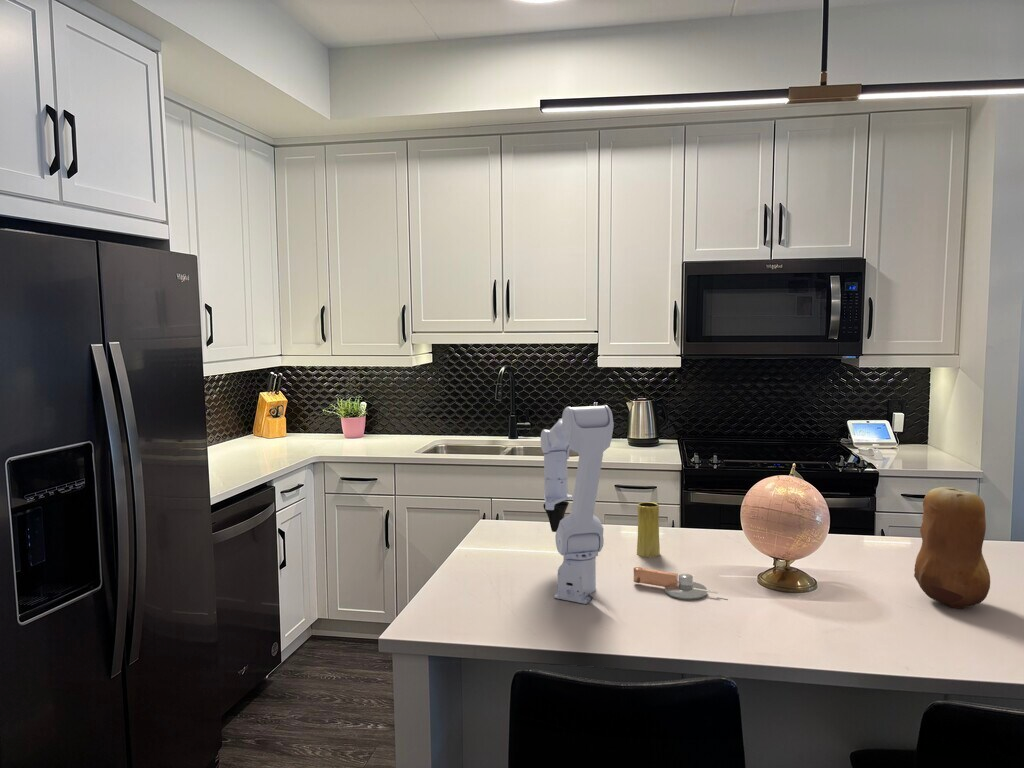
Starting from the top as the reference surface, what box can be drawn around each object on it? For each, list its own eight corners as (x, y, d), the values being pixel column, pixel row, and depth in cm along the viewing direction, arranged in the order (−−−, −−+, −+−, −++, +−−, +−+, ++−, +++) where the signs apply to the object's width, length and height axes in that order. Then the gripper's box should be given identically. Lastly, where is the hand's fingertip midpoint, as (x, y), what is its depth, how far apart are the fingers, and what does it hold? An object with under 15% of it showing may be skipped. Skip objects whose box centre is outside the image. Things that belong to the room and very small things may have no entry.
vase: (633, 560, 187) (633, 506, 186) (640, 553, 193) (640, 500, 192) (656, 563, 185) (656, 508, 183) (663, 556, 190) (663, 502, 189)
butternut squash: (987, 599, 158) (992, 485, 156) (990, 621, 147) (995, 499, 145) (914, 588, 165) (917, 479, 163) (912, 608, 154) (915, 492, 152)
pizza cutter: (722, 590, 162) (722, 574, 162) (712, 604, 154) (712, 587, 154) (640, 577, 171) (640, 562, 171) (627, 590, 164) (627, 574, 163)
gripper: (565, 484, 173) (566, 540, 174) (577, 472, 186) (578, 524, 188) (536, 483, 175) (537, 538, 176) (550, 471, 188) (551, 522, 190)
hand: (556, 531), depth 182 cm, fingers closed
